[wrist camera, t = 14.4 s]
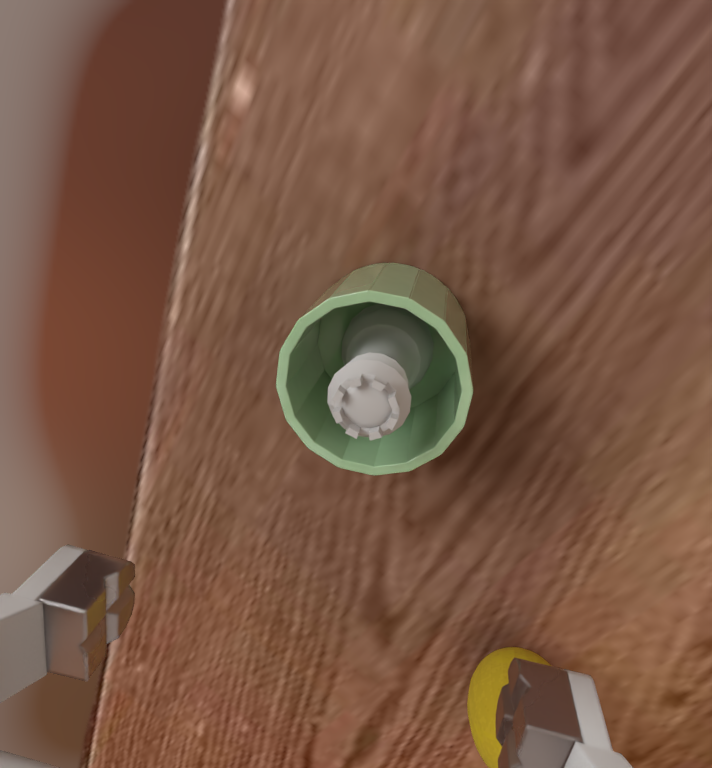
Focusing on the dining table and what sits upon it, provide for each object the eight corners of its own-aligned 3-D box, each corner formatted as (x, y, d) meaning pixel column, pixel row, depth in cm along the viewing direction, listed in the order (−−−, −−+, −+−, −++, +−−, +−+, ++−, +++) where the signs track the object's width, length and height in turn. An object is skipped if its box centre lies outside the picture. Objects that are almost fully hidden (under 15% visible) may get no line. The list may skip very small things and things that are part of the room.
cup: (449, 426, 30) (447, 492, 24) (304, 394, 31) (268, 451, 25) (486, 279, 27) (494, 314, 21) (324, 248, 28) (288, 273, 22)
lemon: (532, 604, 34) (553, 731, 26) (576, 670, 35) (607, 808, 27) (449, 635, 35) (447, 761, 28) (494, 696, 37) (503, 832, 29)
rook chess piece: (351, 389, 30) (316, 466, 22) (338, 305, 28) (296, 357, 21) (438, 382, 29) (431, 460, 21) (429, 295, 27) (419, 347, 20)
